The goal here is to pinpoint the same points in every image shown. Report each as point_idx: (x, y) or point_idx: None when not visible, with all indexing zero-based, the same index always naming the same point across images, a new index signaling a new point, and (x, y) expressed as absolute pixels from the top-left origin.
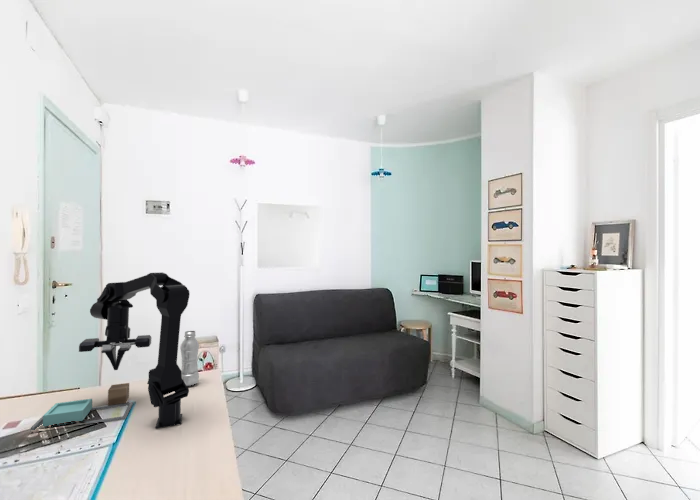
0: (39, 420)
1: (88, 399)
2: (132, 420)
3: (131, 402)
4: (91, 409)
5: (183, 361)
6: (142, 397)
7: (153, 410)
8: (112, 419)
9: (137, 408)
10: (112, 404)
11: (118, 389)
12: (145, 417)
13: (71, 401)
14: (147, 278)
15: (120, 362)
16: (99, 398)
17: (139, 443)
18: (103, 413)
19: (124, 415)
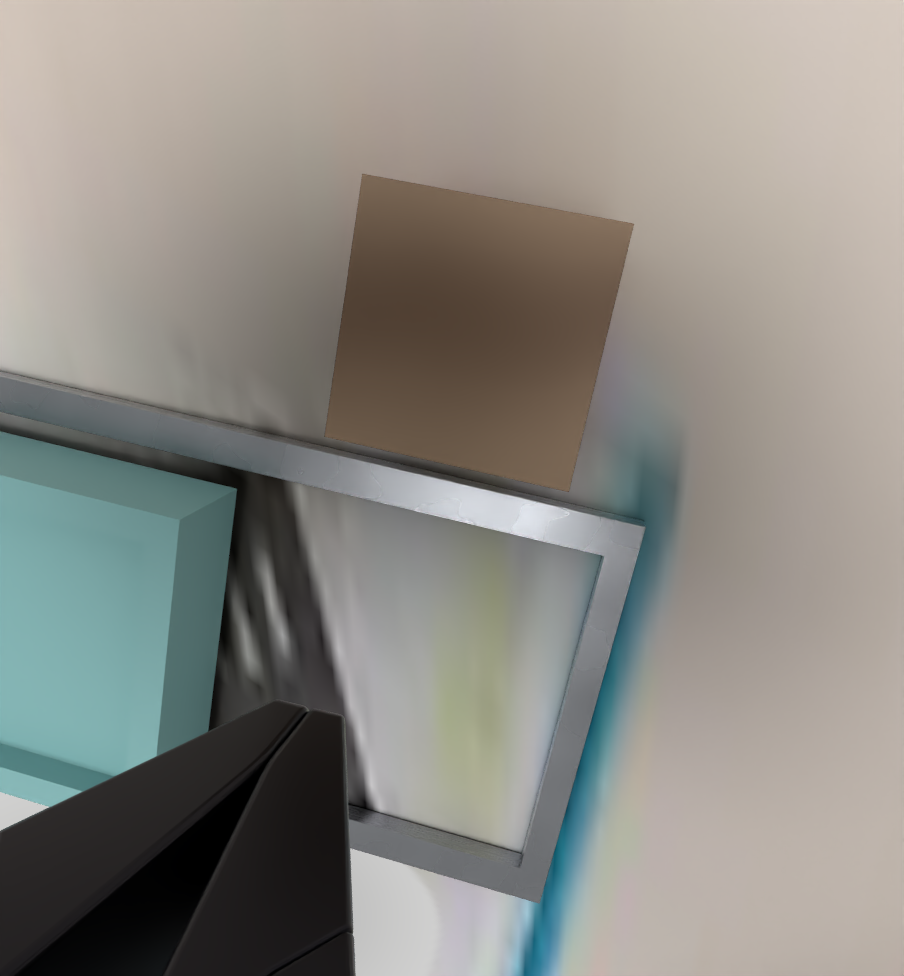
0: None
1: (143, 529)
2: (595, 948)
3: (623, 546)
4: (238, 465)
5: None
6: (773, 359)
7: (807, 852)
8: (436, 871)
9: (668, 697)
10: (427, 475)
11: (461, 463)
12: (706, 960)
13: None
14: None
15: (346, 845)
16: (277, 59)
17: None
18: (358, 621)
19: (533, 863)
